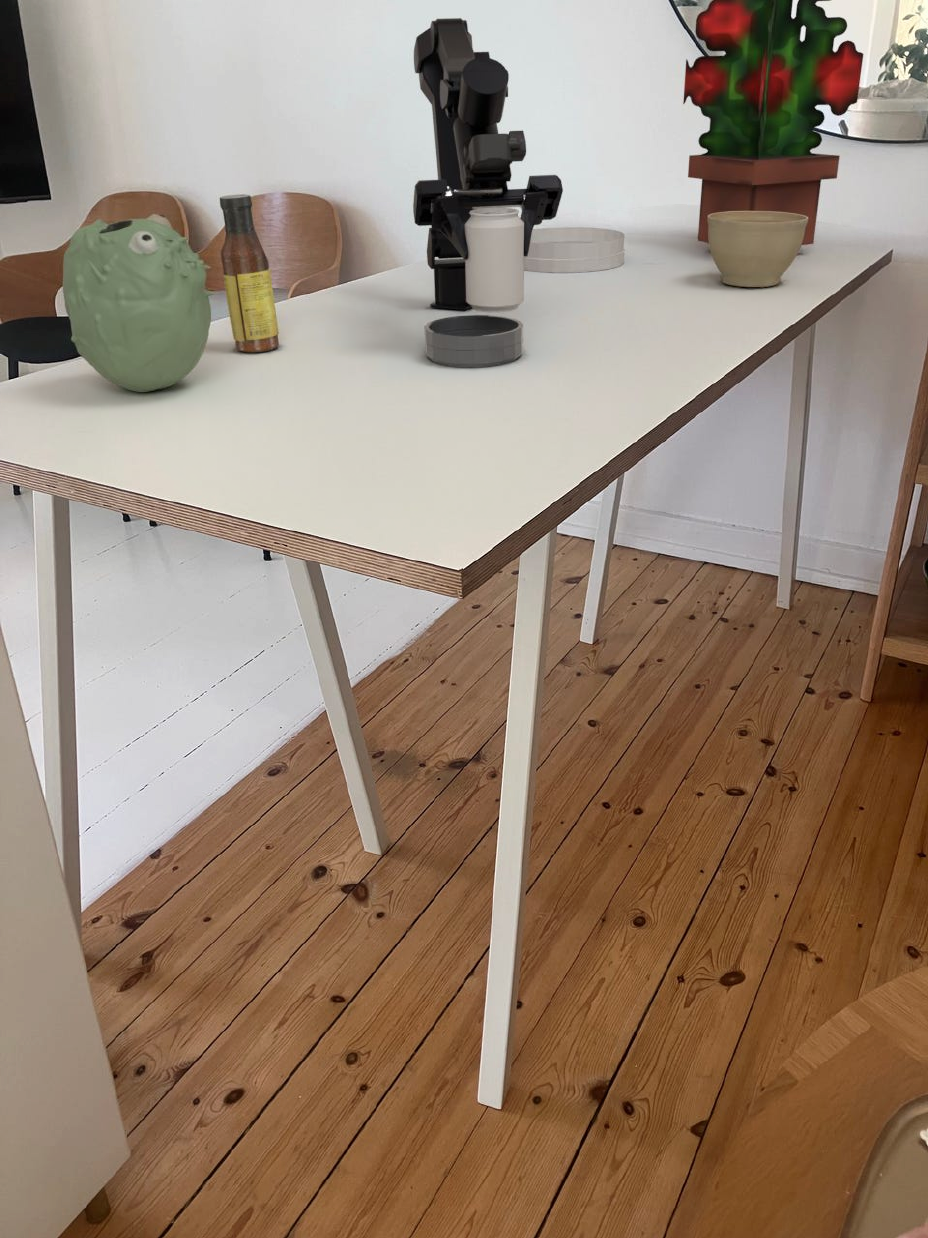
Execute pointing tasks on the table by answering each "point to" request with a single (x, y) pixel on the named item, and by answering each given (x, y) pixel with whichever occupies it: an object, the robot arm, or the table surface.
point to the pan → (474, 340)
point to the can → (494, 259)
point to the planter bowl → (754, 245)
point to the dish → (574, 250)
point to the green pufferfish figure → (136, 301)
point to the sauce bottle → (247, 279)
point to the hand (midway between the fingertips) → (496, 255)
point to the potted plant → (767, 105)
